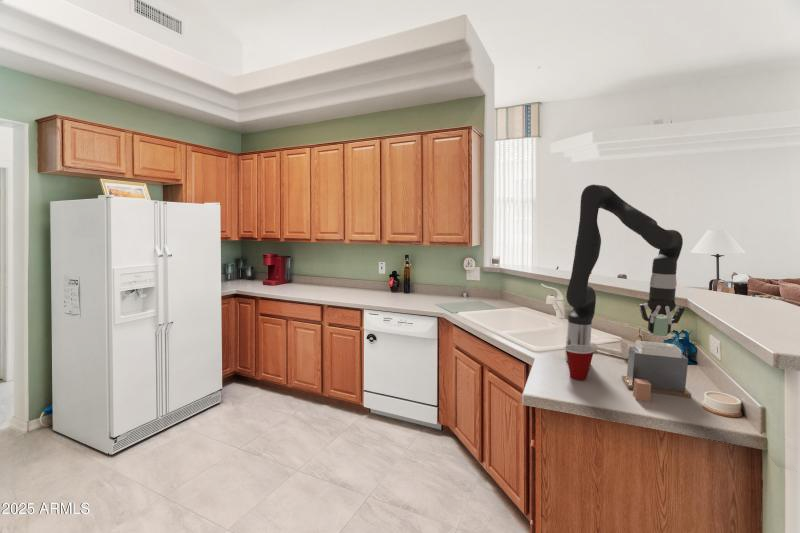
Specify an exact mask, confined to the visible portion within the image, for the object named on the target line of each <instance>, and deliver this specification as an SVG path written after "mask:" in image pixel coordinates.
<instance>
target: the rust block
mask: <svg viewBox="0 0 800 533" xmlns="http://www.w3.org/2000/svg"><path fill="white" fill-rule="evenodd" d="M651 393H652V392H651V384H650V383H649V381H648V380H642V379H634V388H633V391H632V396H633V398H634V397H635V398H634V399H635V401H639V400H642V402H646V401H649V402H648V403H650V402H651Z"/></svg>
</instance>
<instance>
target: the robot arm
mask: <svg viewBox="0 0 800 533" xmlns="http://www.w3.org/2000/svg"><path fill="white" fill-rule="evenodd" d="M579 205H580V207H579V208H580V210H579V222H578V230H577V238H576V242H575V250H574V256H573V262H572V270H571V275H570V278H569V279H570V280H569V282H568V286H567V290H566V302H567V303H568V305H569V306H570V307H571V308H572V310H571V312H570V313H569V314H568V318H567V331H566V332H567V333H566V338H565V339H566V340H565V346H567V345H585V346H590V342H592V341H591V339H592V323H593V318H594V316H595V311H596V304H597V303H596V302H597V295H596V292H595V289H594V288H593V287H592V286H590V285H588V284H589V279H590V275H591V273H592V271H593V269H594V267H595V265H596V264H597V262H598V260H599V256H600V251H601V245H602V237H601V232H600V229H599V226H598V214H599V209H602V210H605V211H607V212H608V213H611V214H613V215H615V216H616V217H617V218H618V220H620V221H621V223H622V224H624V226H625V227H627V228H628V229H630V230H631V231H632V232H634V233H636V234H637V235H639V236H640V237H641V238H642V239H643V240H645V242H646V243H648V244H649V245H650V247H653V248H654V249H657V250H658V255H657V256H656V257H654V258H653V259H652V266H651V277H650V281H649V292H648V293H649V294H648V300H647V302H645V303H639V304H638V307H639V311H640V314H641V317H642V319H643V320H644V321H645V322H647V331H648V332H649V333H651V334H652V333H653V330H654V323H653V322H654V319H655V318H656V317H658V315H663V317H665V318H666V319H668V332H667V336H668V335H669V334H670V333H671V332H672V324H678V323H679V321H680V319H681V317H682V315H683V314H684V311H685V307H683V306H679V305H677V304H676V302H675V300H676V291H677V290H676V288H677V267H678V260H679V257H680V255H681V252H682V248H683V243H684V242H683V235H682V234H681V233H680V232H679V231H678V230H676V229H665V228H663V227H661V226H660V225H658V222H657V220H655V219H654V218H652V217H651V216H649V215H647V214H646V213H645V212H642V211H640V210H639V209H638V208H635V207H634V206H632V205H631V204H630V203H628V202H627V201H625V200H623V198H621V197H620V196H619V195H618V193H617V194H616V192H614V190H613V189H611V188H610V187H608V185H607V186H606V185H600V184H593V183H592V184H588V185H587V186H586V187H585V188H584V189H583V191H582V193H581V196H580V204H579ZM648 308H649V309H650V311H649V316H648V314H647V309H648ZM673 310H675V313H674V315H673V317H672V315H671V313H672V311H673ZM564 357H565V361H566V362H567V363H568V358H567V353H566V352H565V355H564Z"/></svg>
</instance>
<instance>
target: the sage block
mask: <svg viewBox="0 0 800 533" xmlns="http://www.w3.org/2000/svg"><path fill="white" fill-rule="evenodd" d="M653 323H654V330H653V333H651V334H652V335H653V336H656V337H657V336H658V337H668V335H667V332H668V319H666V318H665V317H664V316H657V317H656V318H655V319H654V322H653Z"/></svg>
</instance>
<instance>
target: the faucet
mask: <svg viewBox="0 0 800 533" xmlns="http://www.w3.org/2000/svg"><path fill="white" fill-rule="evenodd" d="M607 338H608V339H612V337H610V336H609V337H606V339H607ZM613 339H614V340H617V341H618V340H619V341H620V342H619V347H620V350H619V349H615V348H611V347H609V348H608V347H605V346H604V347H603V346H599V345H597V343H596V342H593V341H590V347H593V348H594V349H595V352H597V350H598V351H600V352H601V351H602V352H604V353H608V354H610V355H613V356H619V357H622V359H624V360H628V356H629V346H628V345H629V344H628V343H627V341H626V340H624V339H622V338H620V337H613ZM595 352H594V353H595Z"/></svg>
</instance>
